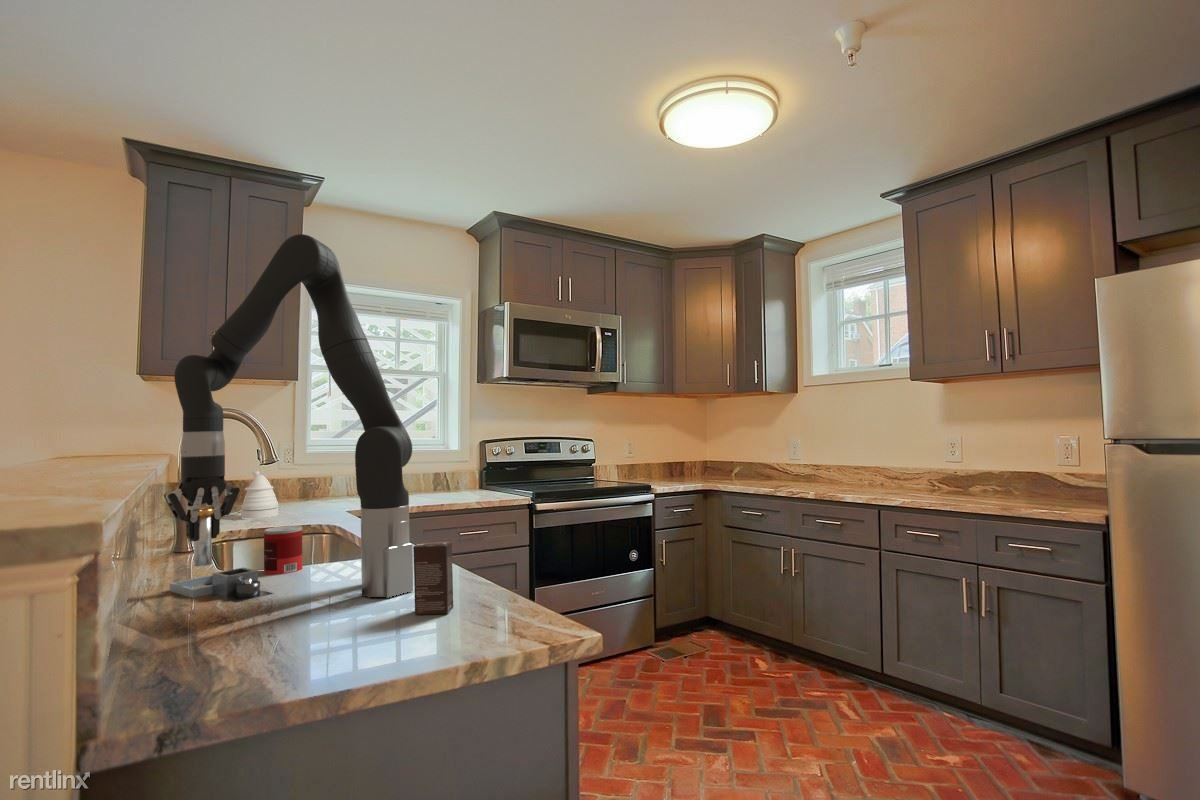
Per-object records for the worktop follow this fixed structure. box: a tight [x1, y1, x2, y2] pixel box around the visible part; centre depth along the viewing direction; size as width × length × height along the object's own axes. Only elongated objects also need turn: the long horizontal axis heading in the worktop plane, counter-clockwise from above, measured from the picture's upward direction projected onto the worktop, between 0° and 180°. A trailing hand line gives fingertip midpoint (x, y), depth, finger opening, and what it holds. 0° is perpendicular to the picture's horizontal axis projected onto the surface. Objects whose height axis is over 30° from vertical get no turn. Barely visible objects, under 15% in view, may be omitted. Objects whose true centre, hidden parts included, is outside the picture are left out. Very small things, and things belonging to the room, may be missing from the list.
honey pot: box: [240, 470, 280, 518], centre depth 247 cm, size 13×13×18 cm
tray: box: [169, 574, 213, 599], centre depth 126 cm, size 10×8×3 cm
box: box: [413, 541, 454, 616], centre depth 112 cm, size 6×4×12 cm
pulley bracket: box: [208, 567, 274, 603], centre depth 122 cm, size 11×7×6 cm, turn 55°
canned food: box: [263, 525, 303, 576], centre depth 142 cm, size 8×8×11 cm
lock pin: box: [193, 507, 214, 567], centre depth 127 cm, size 4×4×11 cm
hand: (203, 539), depth 127 cm, fingers closed on lock pin, 3 cm apart
